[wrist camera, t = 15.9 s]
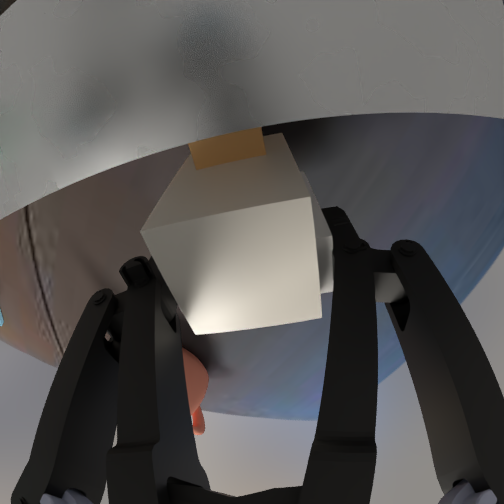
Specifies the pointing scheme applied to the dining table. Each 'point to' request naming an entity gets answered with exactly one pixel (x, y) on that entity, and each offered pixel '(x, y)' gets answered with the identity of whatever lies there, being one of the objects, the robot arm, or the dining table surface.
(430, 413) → the robot arm
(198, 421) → the teapot
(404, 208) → the dining table surface
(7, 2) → the dining table surface
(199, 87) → the white arch block
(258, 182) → the mallet
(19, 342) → the dining table surface
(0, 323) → the chair
